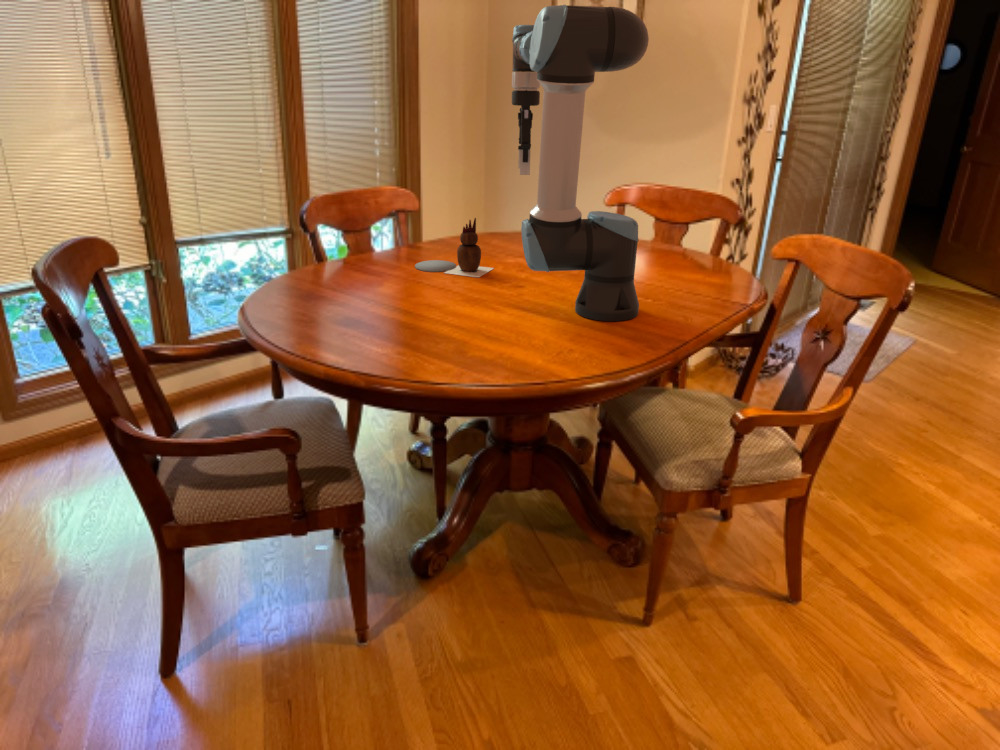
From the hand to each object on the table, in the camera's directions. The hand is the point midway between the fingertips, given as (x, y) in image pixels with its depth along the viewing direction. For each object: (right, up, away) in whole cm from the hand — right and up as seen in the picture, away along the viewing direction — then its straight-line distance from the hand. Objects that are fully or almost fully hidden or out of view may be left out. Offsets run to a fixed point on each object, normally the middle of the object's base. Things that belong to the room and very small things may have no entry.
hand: (523, 171), depth 192 cm
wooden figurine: (-16, -27, +6) cm, 32 cm away
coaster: (-26, -25, +10) cm, 37 cm away
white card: (-16, -27, +6) cm, 32 cm away
